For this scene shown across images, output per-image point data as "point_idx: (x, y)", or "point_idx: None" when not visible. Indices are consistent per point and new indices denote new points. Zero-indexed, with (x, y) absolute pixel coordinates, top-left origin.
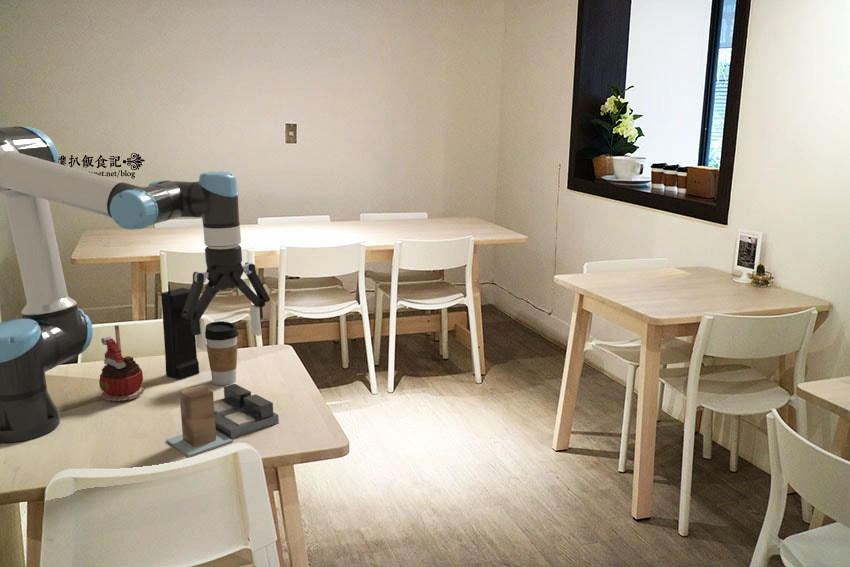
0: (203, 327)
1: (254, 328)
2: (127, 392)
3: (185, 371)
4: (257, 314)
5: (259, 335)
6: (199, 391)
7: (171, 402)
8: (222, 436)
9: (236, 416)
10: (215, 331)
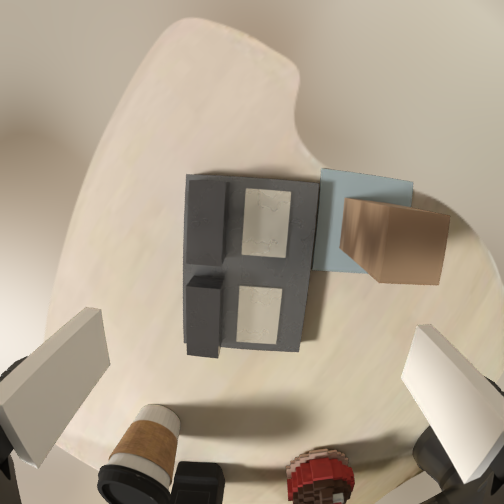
0: (484, 391)
1: (90, 356)
2: (328, 459)
3: (203, 470)
4: (28, 374)
5: (94, 309)
6: (413, 239)
7: (283, 412)
8: (325, 202)
9: (266, 234)
10: (150, 497)
